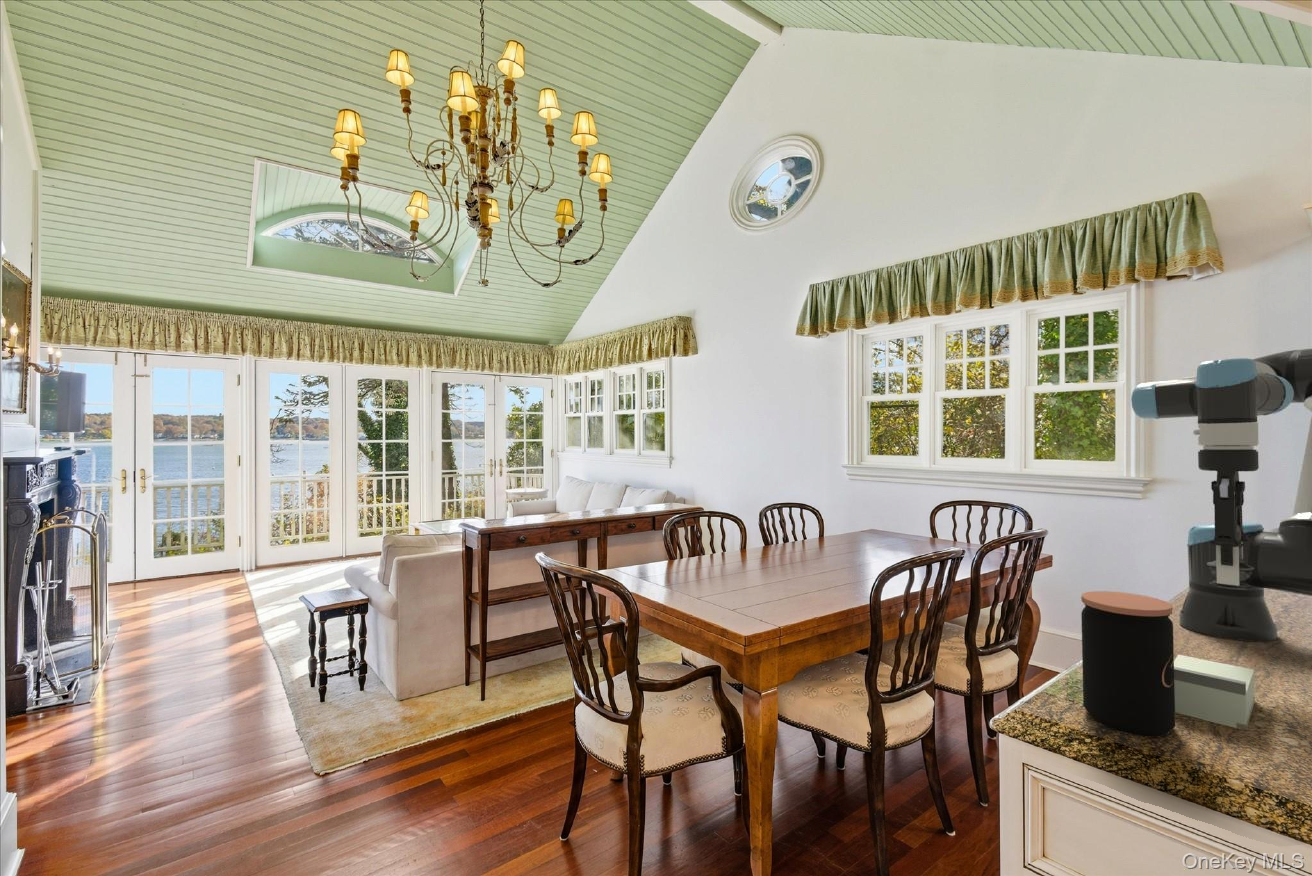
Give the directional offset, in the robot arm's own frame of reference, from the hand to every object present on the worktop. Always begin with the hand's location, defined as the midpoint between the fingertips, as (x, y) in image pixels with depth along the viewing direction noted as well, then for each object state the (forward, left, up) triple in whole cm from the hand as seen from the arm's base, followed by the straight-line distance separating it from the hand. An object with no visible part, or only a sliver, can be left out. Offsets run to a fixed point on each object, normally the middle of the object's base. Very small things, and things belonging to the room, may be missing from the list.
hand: (1230, 580), depth 102 cm
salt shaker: (0, 0, -1) cm, 1 cm away
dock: (+15, +9, -17) cm, 24 cm away
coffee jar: (+32, +12, -17) cm, 38 cm away
